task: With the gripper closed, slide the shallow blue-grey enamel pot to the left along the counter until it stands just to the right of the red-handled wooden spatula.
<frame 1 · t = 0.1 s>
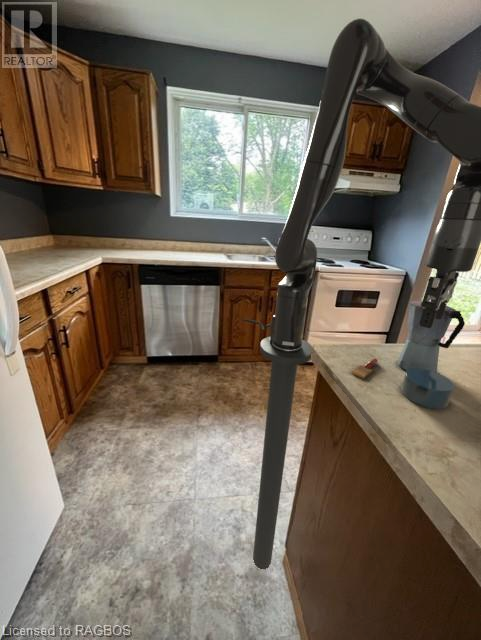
hand: (430, 322, 58), 16 cm above the countertop, tool pointing down, fingers open, 8 cm apart
moka pot: (417, 369, 72), on the countertop
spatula: (366, 368, 71), on the countertop
pot: (423, 396, 61), on the countertop
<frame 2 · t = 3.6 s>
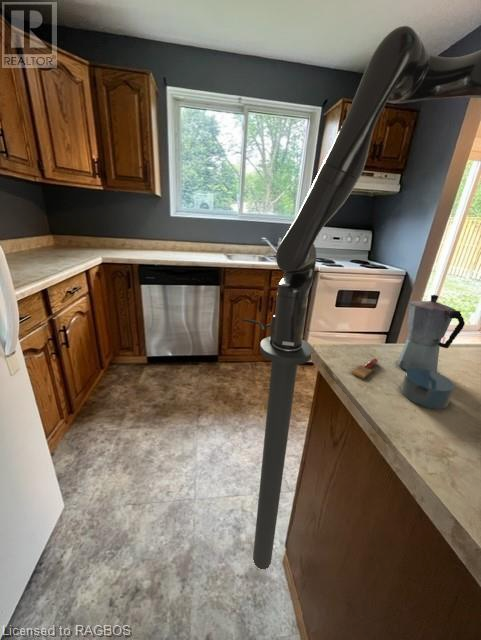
nothing on the countertop moved.
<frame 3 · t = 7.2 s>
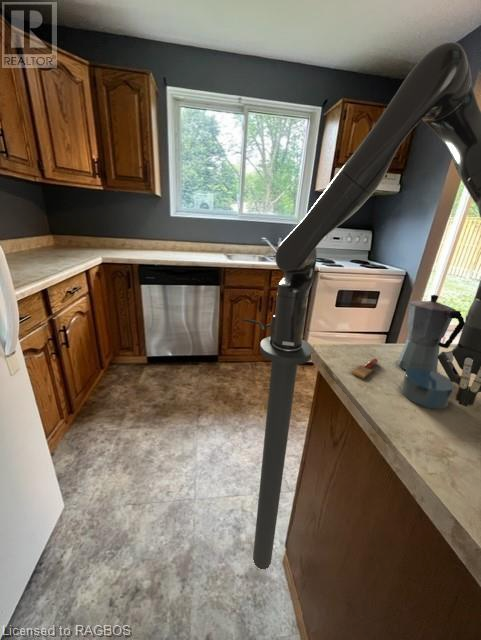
hand: (463, 403, 56), 2 cm above the countertop, tool pointing down, fingers closed
pot: (423, 395, 61), on the countertop, touching gripper
everything else where it was.
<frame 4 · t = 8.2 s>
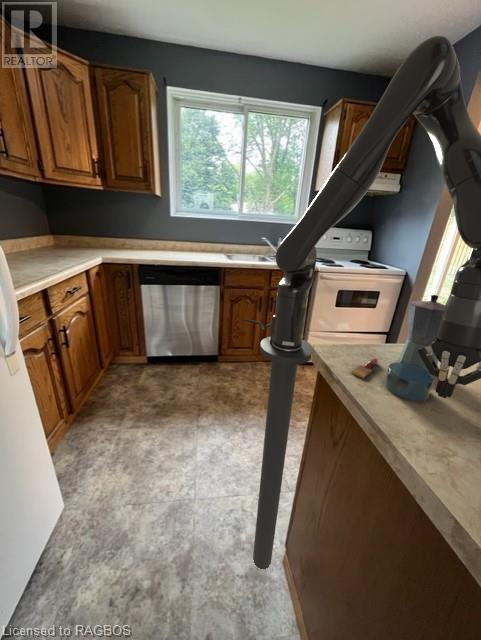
hand: (442, 395, 58), 2 cm above the countertop, tool pointing down, fingers closed
pot: (405, 388, 63), on the countertop, touching gripper
everything else where it was.
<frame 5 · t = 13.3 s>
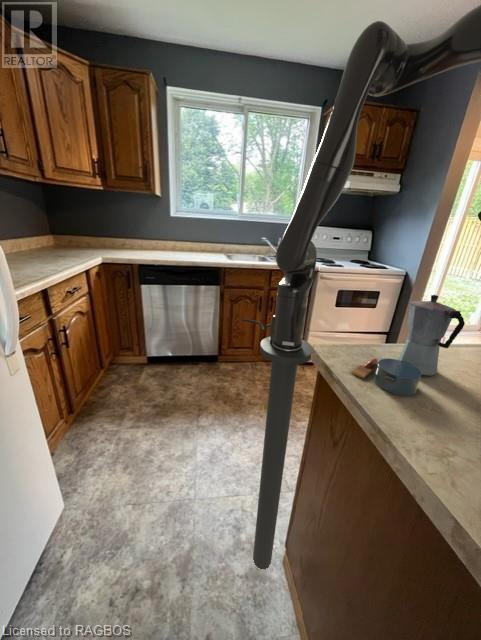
pot: (394, 384, 65), on the countertop
everything else where it was.
at the end: pot 0.4 cm from the target spot, on the countertop; pot tilted 0°; pot moved 6.1 cm from its start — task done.
